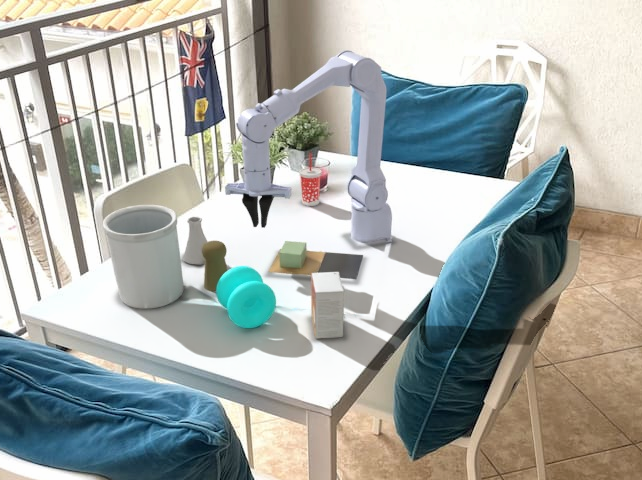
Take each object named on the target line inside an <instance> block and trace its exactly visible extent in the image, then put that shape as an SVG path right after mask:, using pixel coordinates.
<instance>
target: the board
mask: <svg viewBox="0 0 642 480" xmlns="http://www.w3.org/2000/svg"><path fill="white" fill-rule="evenodd" d="M281 249H282V248H280V249H279V250H278V252H277V254H276V256H275V258H274V260H273V261H272V263H271V266H270V267H269V269H268V273H274V274H275V273H276V274H287V275H300V276H311V273H323V272H339V275H340V279H349V280H357V278H358V275H359V272H360V268H361V265H362V261H363V258H364V254H354V253H341V252H329V251H316V250H315V251H314V250H307V256H306V258H305V261H304V263H303V265H302V268H289V267H280V260H279V253H280V251H281Z"/></svg>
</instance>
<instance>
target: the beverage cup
mask: <svg viewBox="0 0 642 480" xmlns="http://www.w3.org/2000/svg"><path fill="white" fill-rule="evenodd" d="M308 155H309V159H308V160H309V162H308V163H309V167H304V168H301V169H300V170H298V173H299V178H300V188H301V201H302V205H304V206H308V207H315V206H317V205H319V204H320V193H321V178H322V177H321V176H322V173H323V171H322V169H320V168H318V167H312V153H311V152H309V154H308Z"/></svg>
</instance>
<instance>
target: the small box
mask: <svg viewBox="0 0 642 480" xmlns="http://www.w3.org/2000/svg"><path fill="white" fill-rule="evenodd" d="M310 277H311V278H310V285H311V286H310V295H311V296H310V300H311V301H310V302H311V303H310V304H311V306H310V307H311V309H310V312H311V313H310V314H311V315H310V317H311V321H312V326H313V334H314V338H315V340H319V339H336V338H337V339H338V338H343V337H344V315H345V314H344V311H345V289H344V286H343V283H342V280H341V279H342V278H340V275H339V272H323V273H311V275H310Z"/></svg>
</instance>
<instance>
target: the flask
mask: <svg viewBox="0 0 642 480" xmlns="http://www.w3.org/2000/svg"><path fill="white" fill-rule="evenodd" d="M202 221H203V218H202V217H199V216H191V217H189V218H188V219H187V221H186V222H187V224H188V228H189V229H188V238H187V242H186V246H185V250H184V253H183V256H182V262H185V263H187V264H189V265H205V258H204V257H203V255H202V247H203V245H204V244H205V243H207V242H208V240H207V237H206V236H205V234H204V231H203V226H202Z"/></svg>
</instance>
